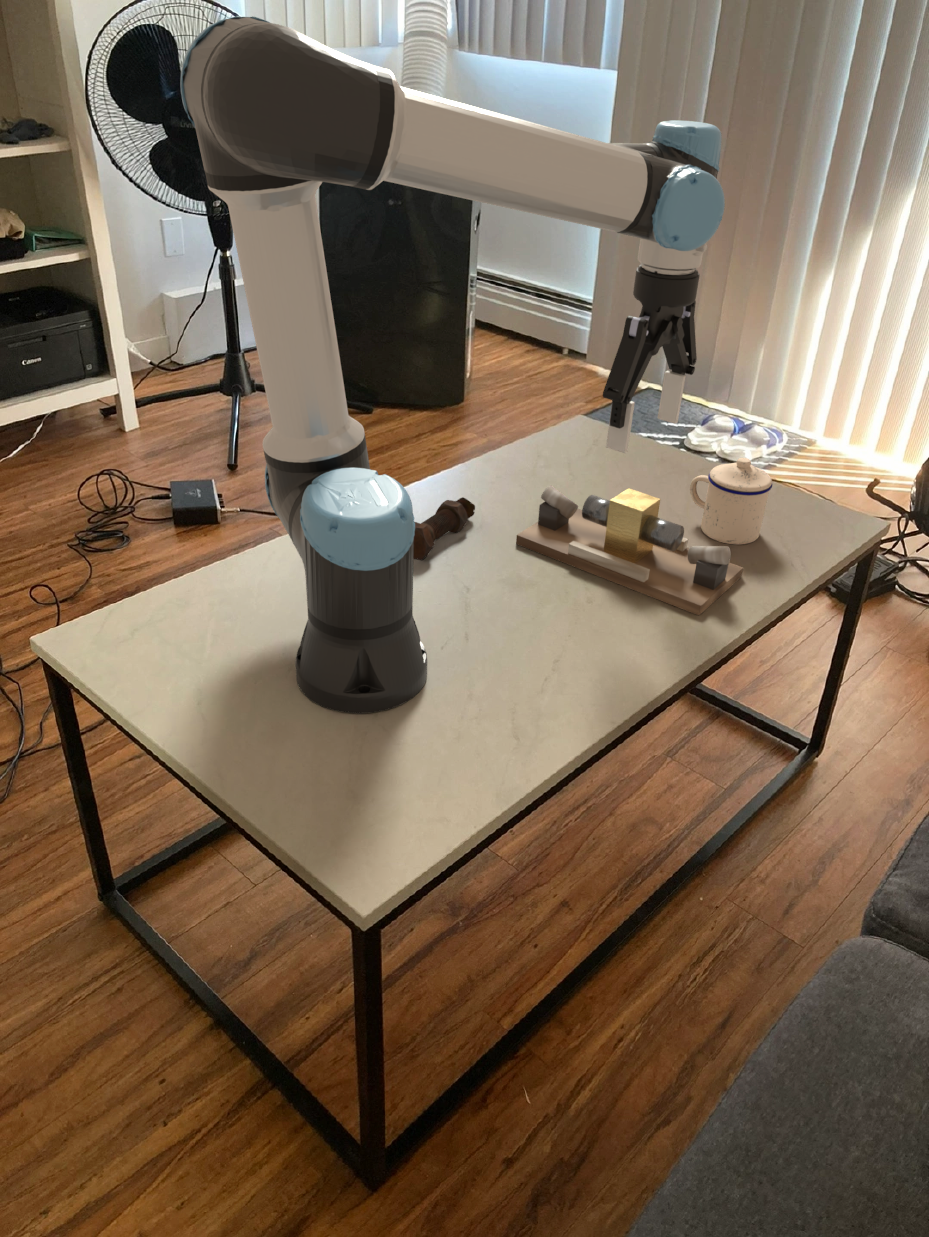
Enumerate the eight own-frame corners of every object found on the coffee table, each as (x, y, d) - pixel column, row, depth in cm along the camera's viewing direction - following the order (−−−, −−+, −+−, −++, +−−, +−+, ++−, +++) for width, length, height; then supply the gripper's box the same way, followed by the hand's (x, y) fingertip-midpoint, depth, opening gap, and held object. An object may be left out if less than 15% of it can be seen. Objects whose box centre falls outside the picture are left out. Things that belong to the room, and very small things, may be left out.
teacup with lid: (771, 531, 148) (787, 459, 142) (743, 552, 143) (759, 479, 136) (699, 506, 155) (712, 436, 148) (670, 525, 149) (682, 454, 142)
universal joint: (663, 574, 133) (672, 521, 129) (576, 541, 140) (581, 490, 136) (681, 560, 137) (690, 509, 132) (594, 529, 144) (600, 478, 139)
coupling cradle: (699, 615, 128) (708, 567, 124) (515, 543, 142) (518, 498, 138) (741, 577, 137) (751, 531, 133) (564, 513, 151) (568, 469, 147)
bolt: (470, 530, 149) (415, 568, 138) (446, 507, 150) (389, 544, 139) (489, 504, 146) (433, 542, 134) (464, 481, 146) (407, 516, 135)
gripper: (645, 292, 107) (620, 471, 119) (741, 256, 124) (711, 416, 136) (586, 278, 111) (567, 454, 122) (688, 245, 128) (662, 402, 139)
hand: (642, 434), depth 129 cm, fingers open, 13 cm apart
